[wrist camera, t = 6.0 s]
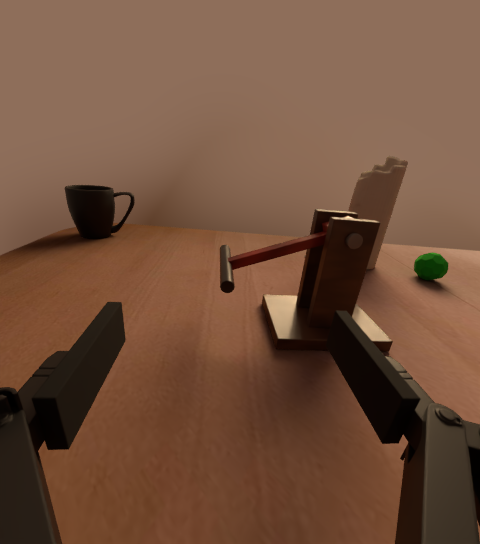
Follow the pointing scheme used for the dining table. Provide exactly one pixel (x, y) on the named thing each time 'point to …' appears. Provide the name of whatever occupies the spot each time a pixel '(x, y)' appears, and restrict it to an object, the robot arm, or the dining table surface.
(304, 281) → the rod stand
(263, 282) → the dining table surface
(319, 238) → the red lever
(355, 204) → the candle
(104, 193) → the mug
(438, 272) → the polyhedron
